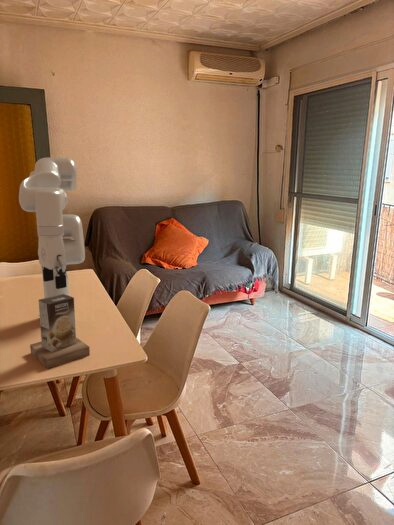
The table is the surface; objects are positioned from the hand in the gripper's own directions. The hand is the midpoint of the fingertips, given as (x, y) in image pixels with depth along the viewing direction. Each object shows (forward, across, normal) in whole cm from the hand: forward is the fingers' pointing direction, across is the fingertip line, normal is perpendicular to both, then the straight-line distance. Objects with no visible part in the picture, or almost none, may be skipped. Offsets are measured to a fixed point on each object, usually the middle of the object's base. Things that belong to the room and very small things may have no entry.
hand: (54, 284), depth 125 cm
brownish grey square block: (+24, +1, 0) cm, 24 cm away
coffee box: (+21, 0, 0) cm, 21 cm away
